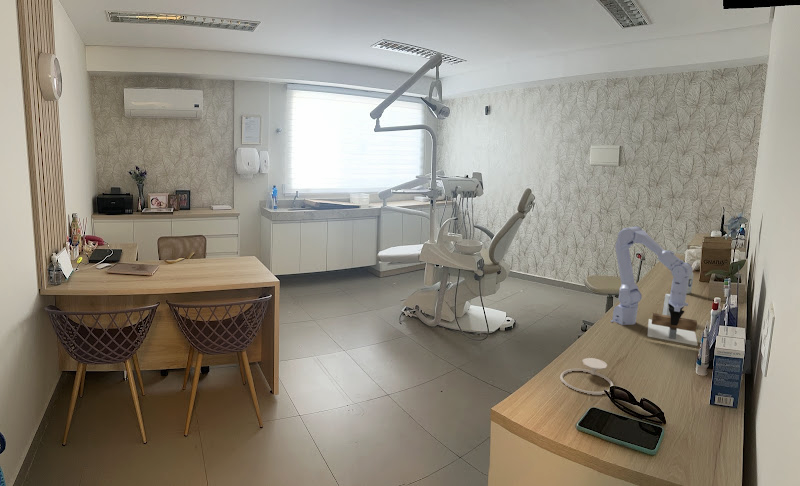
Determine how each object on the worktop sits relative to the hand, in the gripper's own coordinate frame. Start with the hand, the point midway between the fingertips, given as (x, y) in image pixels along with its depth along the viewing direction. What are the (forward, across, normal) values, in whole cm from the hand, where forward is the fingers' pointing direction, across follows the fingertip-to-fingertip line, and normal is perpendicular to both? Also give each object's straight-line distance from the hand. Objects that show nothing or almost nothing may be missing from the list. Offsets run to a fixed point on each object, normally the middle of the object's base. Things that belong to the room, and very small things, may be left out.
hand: (673, 323), depth 198 cm
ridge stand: (+7, +6, 0) cm, 9 cm away
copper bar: (+2, 0, 0) cm, 2 cm away
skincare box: (+7, +25, 0) cm, 26 cm away
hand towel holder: (+7, -59, +26) cm, 65 cm away
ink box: (+7, +81, -6) cm, 82 cm away
